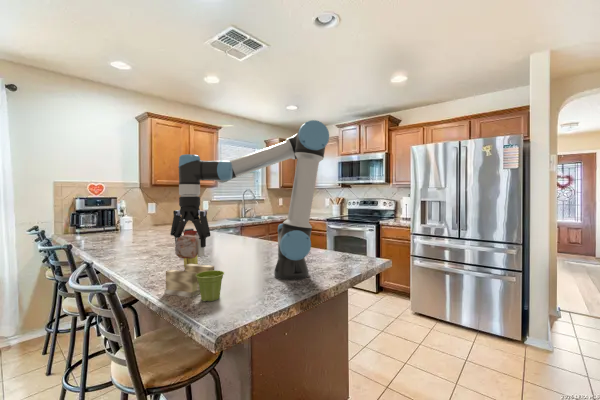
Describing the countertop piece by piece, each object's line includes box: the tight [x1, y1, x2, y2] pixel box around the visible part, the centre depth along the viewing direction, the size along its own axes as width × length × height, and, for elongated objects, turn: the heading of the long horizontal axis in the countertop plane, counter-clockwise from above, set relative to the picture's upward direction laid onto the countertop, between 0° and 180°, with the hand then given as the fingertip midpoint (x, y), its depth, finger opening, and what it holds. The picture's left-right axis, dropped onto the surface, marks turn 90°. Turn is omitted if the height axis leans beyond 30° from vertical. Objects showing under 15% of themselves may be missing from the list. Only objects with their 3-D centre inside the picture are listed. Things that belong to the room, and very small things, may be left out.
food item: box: [174, 229, 200, 259], centre depth 110 cm, size 14×8×10 cm, turn 7°
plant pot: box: [196, 269, 225, 302], centre depth 100 cm, size 9×9×9 cm
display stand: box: [163, 264, 215, 298], centre depth 110 cm, size 12×14×8 cm
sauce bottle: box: [183, 227, 199, 268], centre depth 140 cm, size 7×6×20 cm
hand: (190, 255), depth 110 cm, fingers closed on food item, 9 cm apart
